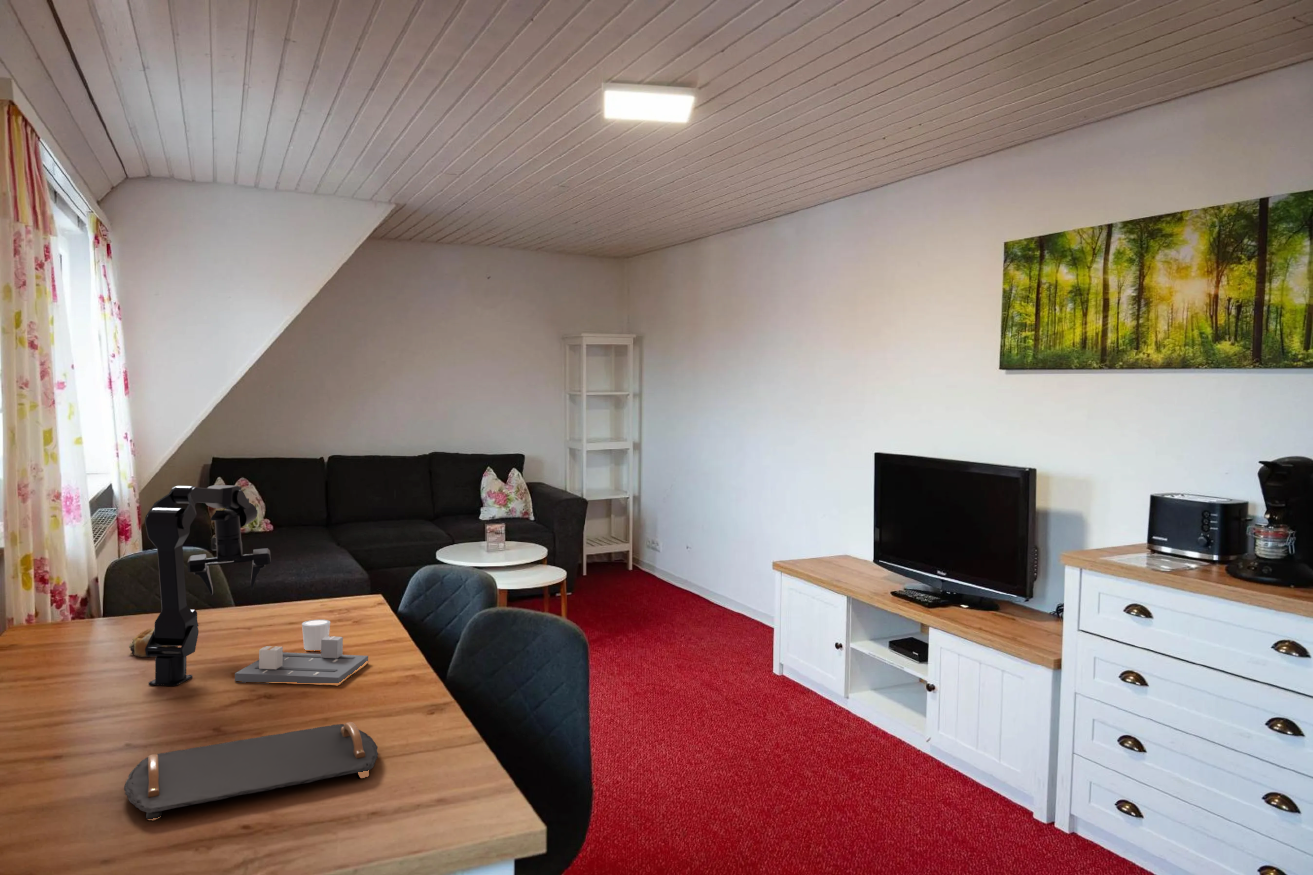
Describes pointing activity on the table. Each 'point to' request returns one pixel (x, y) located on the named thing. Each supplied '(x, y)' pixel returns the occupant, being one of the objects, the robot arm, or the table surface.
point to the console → (304, 669)
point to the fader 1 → (270, 657)
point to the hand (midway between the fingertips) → (232, 591)
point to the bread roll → (142, 643)
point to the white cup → (314, 633)
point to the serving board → (248, 767)
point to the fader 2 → (331, 647)
